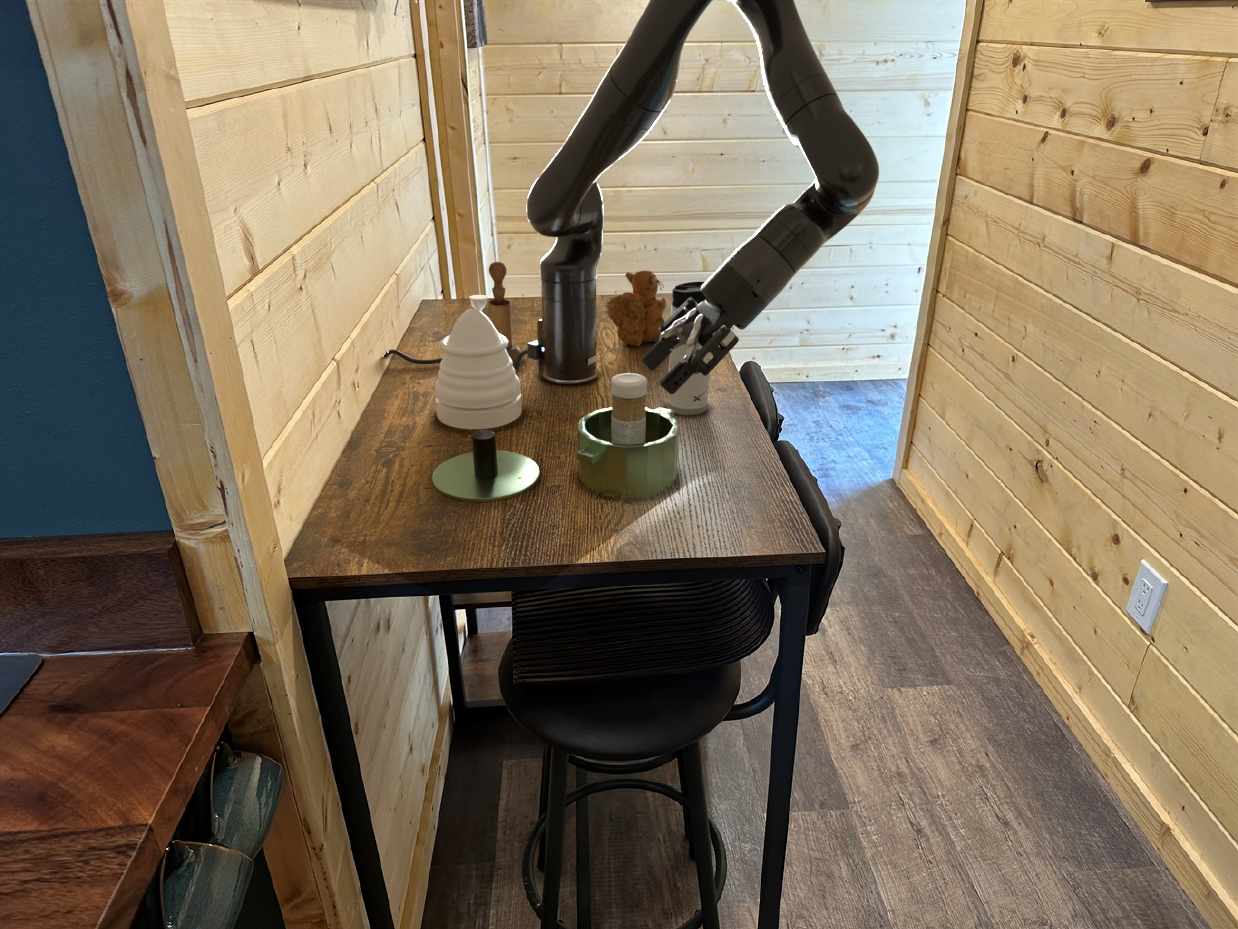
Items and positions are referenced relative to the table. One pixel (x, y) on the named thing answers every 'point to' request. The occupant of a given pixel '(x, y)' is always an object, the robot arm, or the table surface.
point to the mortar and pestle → (501, 308)
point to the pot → (628, 455)
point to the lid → (485, 472)
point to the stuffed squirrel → (638, 309)
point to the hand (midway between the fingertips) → (655, 377)
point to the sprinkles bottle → (628, 408)
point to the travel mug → (695, 388)
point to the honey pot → (476, 374)
